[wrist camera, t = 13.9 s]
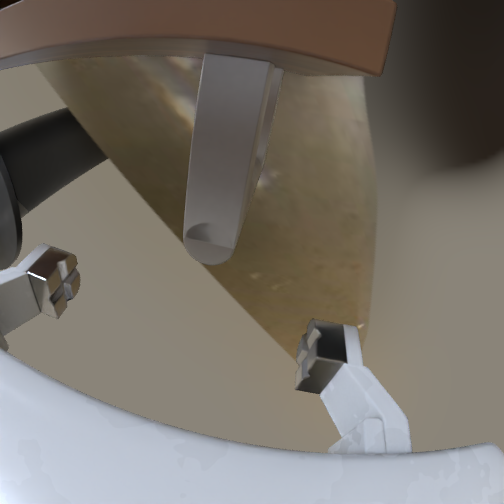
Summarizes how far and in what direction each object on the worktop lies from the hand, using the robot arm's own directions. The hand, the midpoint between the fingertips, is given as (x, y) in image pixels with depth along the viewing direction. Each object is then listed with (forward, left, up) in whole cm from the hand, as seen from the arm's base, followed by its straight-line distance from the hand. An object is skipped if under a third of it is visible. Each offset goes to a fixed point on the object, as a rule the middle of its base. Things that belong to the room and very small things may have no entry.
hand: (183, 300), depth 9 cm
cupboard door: (0, +8, -19) cm, 20 cm away
